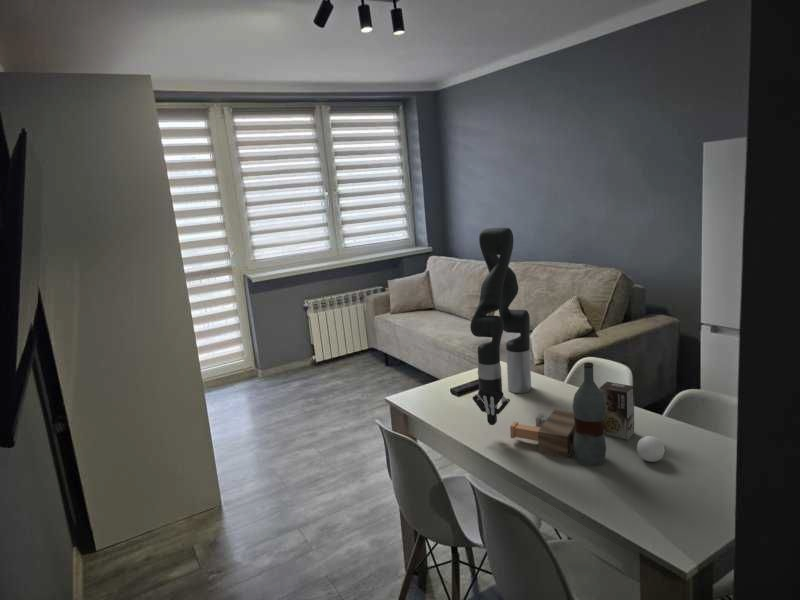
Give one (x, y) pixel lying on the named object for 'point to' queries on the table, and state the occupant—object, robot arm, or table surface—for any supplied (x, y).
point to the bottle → (589, 421)
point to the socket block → (557, 434)
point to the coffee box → (618, 409)
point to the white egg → (650, 448)
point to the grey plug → (540, 420)
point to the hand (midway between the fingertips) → (492, 424)
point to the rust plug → (524, 431)
